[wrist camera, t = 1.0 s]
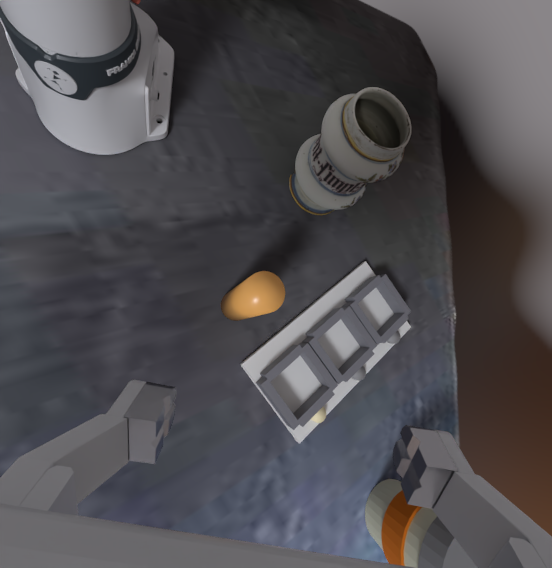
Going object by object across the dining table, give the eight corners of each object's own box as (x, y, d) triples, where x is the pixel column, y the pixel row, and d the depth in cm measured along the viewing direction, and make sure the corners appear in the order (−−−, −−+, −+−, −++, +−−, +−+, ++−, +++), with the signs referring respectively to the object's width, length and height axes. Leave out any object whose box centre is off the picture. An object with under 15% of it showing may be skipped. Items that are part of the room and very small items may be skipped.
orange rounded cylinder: (225, 287, 45) (249, 266, 32) (253, 294, 46) (288, 277, 33) (217, 316, 44) (240, 307, 31) (247, 323, 45) (280, 317, 32)
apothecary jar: (296, 142, 53) (357, 52, 36) (353, 177, 56) (433, 108, 39) (272, 200, 50) (326, 130, 33) (334, 233, 53) (413, 185, 36)
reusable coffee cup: (358, 464, 47) (440, 516, 33) (423, 468, 51) (520, 516, 37) (350, 559, 44) (435, 660, 30) (419, 556, 48) (523, 645, 34)
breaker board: (296, 441, 45) (307, 449, 41) (239, 364, 44) (245, 366, 40) (406, 327, 55) (422, 326, 51) (362, 262, 54) (375, 257, 50)
